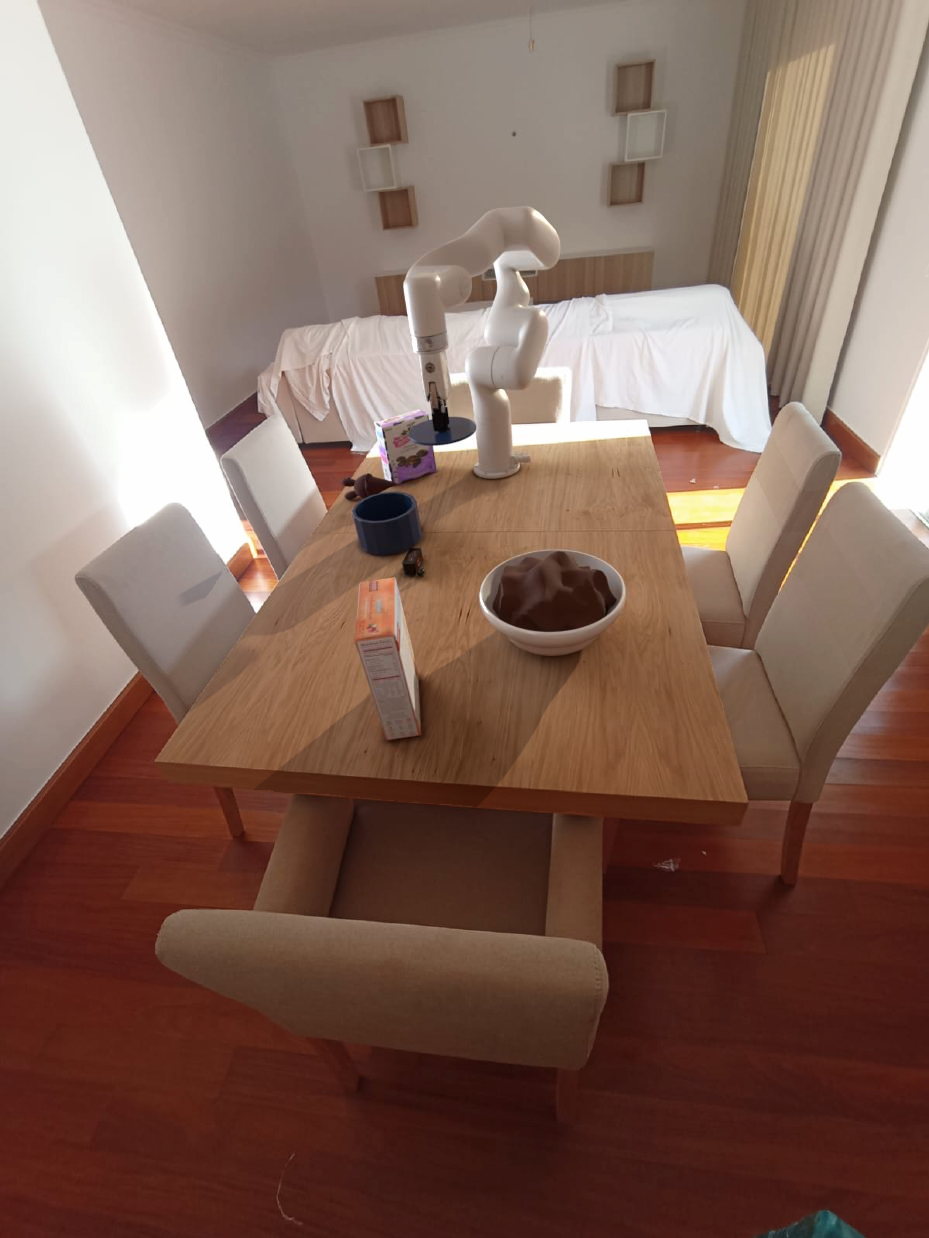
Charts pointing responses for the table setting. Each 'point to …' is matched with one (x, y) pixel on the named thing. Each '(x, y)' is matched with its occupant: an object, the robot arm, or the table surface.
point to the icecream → (366, 486)
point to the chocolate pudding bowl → (552, 600)
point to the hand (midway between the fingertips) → (441, 427)
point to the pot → (387, 523)
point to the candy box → (403, 448)
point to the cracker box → (388, 658)
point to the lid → (442, 432)
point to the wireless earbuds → (413, 562)
